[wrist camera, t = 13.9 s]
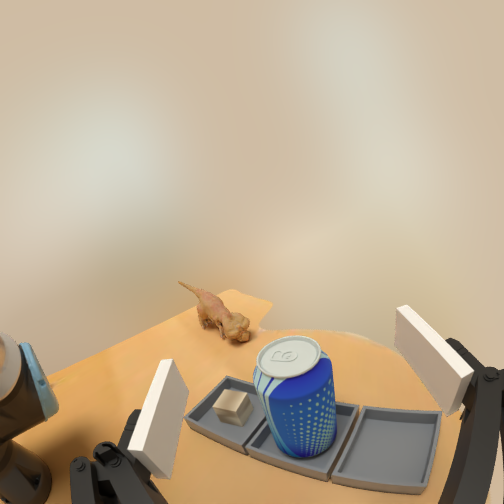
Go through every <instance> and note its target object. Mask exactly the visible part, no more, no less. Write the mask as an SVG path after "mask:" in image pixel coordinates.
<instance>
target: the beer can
mask: <svg viewBox="0 0 504 504" xmlns="http://www.w3.org/2000/svg"><path fill="white" fill-rule="evenodd" d="M256 362H257V365H256V368H255V370H254V373H253V382H254V386H255V389H256V391H257V394H258V397H259V400H260V403H261V405H262V408H263V411H264V414H265V416H266V419H267V422H268V425H269V427H270V430H271V433H272V435H273V438H274V440H275V443H276V445H277V447H278V448H279V449H280V450H281V451H282V452H283V453H285V454H287V455H289V456H292V457H298V458H304V457H311V456H314V455H317V454H319V453H321V452H323V451H325V450H326V449H327V448H328V447H329V446H330V445H331V444H332V443H333V441H334V440H335V437H336V434H337V421H336V406H335V393H334V382H333V371H332V364H331V361H330V359H329V357H328V356H327V354H326V353H325V352H323V351H322V350H321V348H320V345H319V344H318V343H317V342H316V341H315V340H313V339H312V338H309V337H305V336H288V337H283V338H280V339H277V340H274V341H272V342H271V343H269V344H267V345H266V346H265V347H264V348H263V349H262V350H261V351H260V352H259V354H258V356H257V361H256Z"/></svg>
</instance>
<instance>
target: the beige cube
mask: <svg viewBox="0 0 504 504" xmlns="http://www.w3.org/2000/svg"><path fill="white" fill-rule="evenodd" d="M212 407H213V409H214V411H215V412H216V414H217V416H218V418H219V420H220V422H223V423H227V424H231V425H236V426H240V427H243V426H244V425H245V423H246V421H247V419H248V418H249V416H250V414H251V412H252V411H253V406H252V404H251V401H250V399H249V396H248V394H247V393H245V392H238V391H232V390H227V389H224V391H223V392H222V394H221V395H220V396H219V398H218V399H217V401H216V402H215V404H214V405H213V406H212Z"/></svg>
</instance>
